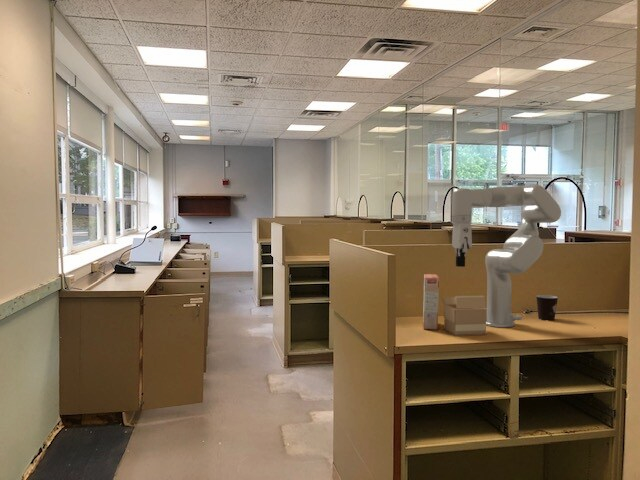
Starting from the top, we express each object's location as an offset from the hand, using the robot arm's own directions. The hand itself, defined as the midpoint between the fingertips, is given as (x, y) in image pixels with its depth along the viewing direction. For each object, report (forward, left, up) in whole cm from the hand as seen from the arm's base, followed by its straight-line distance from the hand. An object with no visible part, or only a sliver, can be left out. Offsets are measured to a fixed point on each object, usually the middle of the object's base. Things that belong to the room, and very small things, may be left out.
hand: (460, 266), depth 194 cm
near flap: (0, +9, -13) cm, 16 cm away
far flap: (0, -4, -14) cm, 15 cm away
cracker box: (+9, -7, -26) cm, 28 cm away
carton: (0, +4, -25) cm, 26 cm away
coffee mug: (-48, -15, -26) cm, 57 cm away
